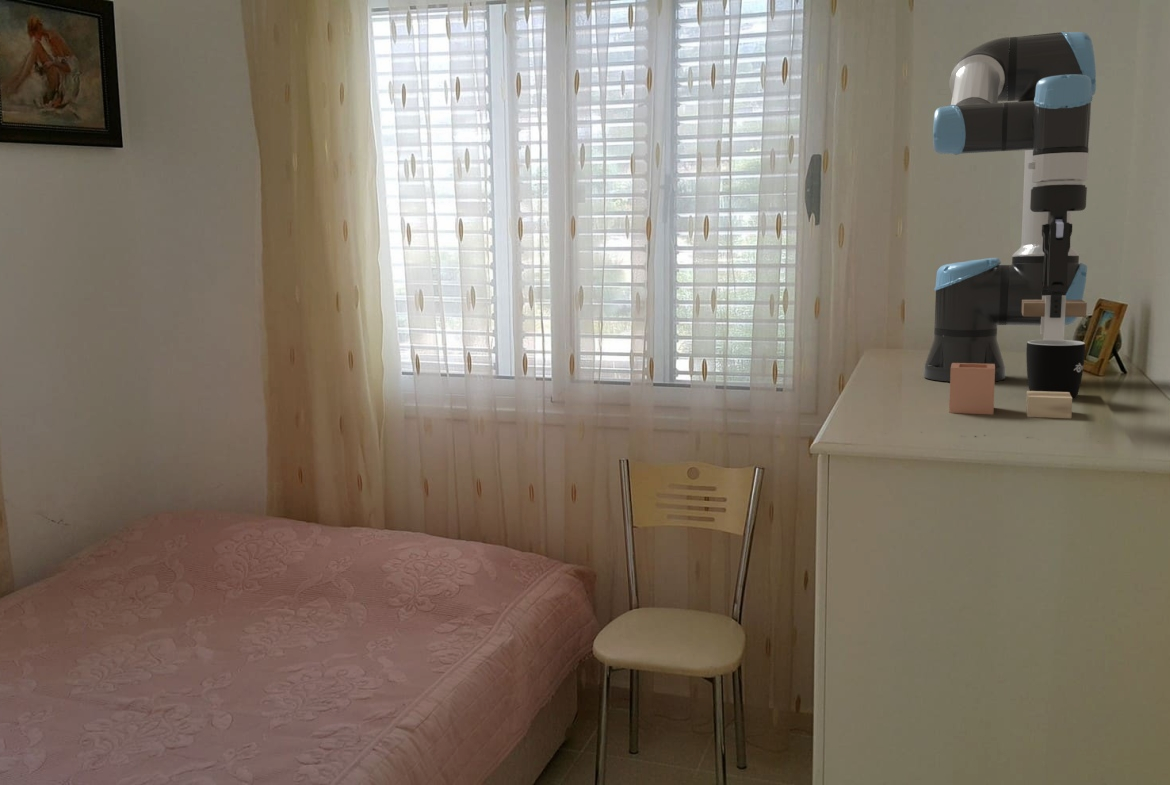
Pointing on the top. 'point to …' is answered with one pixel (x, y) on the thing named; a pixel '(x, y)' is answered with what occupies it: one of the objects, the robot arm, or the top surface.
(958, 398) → the tan hollow square block
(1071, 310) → the lid
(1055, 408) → the block
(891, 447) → the top surface
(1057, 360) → the mug
